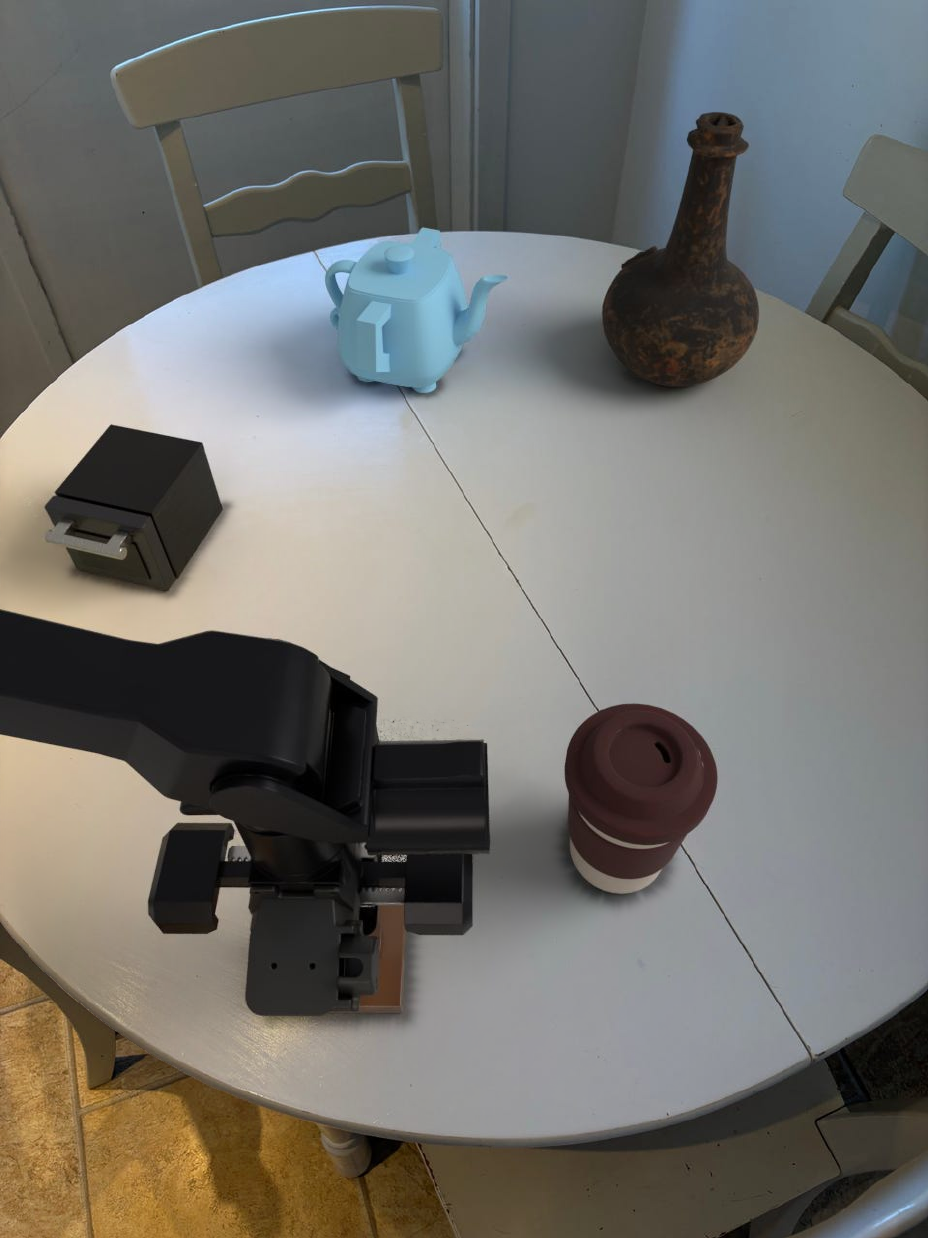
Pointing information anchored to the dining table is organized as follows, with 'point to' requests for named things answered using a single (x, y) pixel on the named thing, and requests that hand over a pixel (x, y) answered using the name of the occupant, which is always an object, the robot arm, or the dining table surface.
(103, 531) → the oven door
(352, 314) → the teapot
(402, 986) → the control block
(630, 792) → the coffee cup
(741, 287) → the glass bottle
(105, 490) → the oven
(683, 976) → the dining table surface
